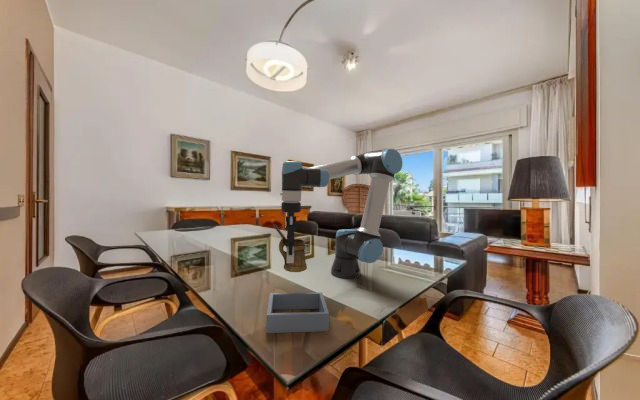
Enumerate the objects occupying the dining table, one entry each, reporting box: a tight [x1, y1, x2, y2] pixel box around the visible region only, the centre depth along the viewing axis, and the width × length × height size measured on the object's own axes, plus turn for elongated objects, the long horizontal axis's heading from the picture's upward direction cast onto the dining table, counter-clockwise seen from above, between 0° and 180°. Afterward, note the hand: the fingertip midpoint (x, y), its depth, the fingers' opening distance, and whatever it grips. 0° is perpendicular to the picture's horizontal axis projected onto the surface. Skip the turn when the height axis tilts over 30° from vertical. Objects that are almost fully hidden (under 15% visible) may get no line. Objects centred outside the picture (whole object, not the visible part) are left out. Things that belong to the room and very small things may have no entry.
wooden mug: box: [272, 223, 308, 273], centre depth 98 cm, size 9×14×18 cm, turn 103°
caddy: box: [265, 291, 330, 334], centre depth 83 cm, size 19×15×6 cm
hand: (290, 259), depth 98 cm, fingers closed on wooden mug, 7 cm apart
